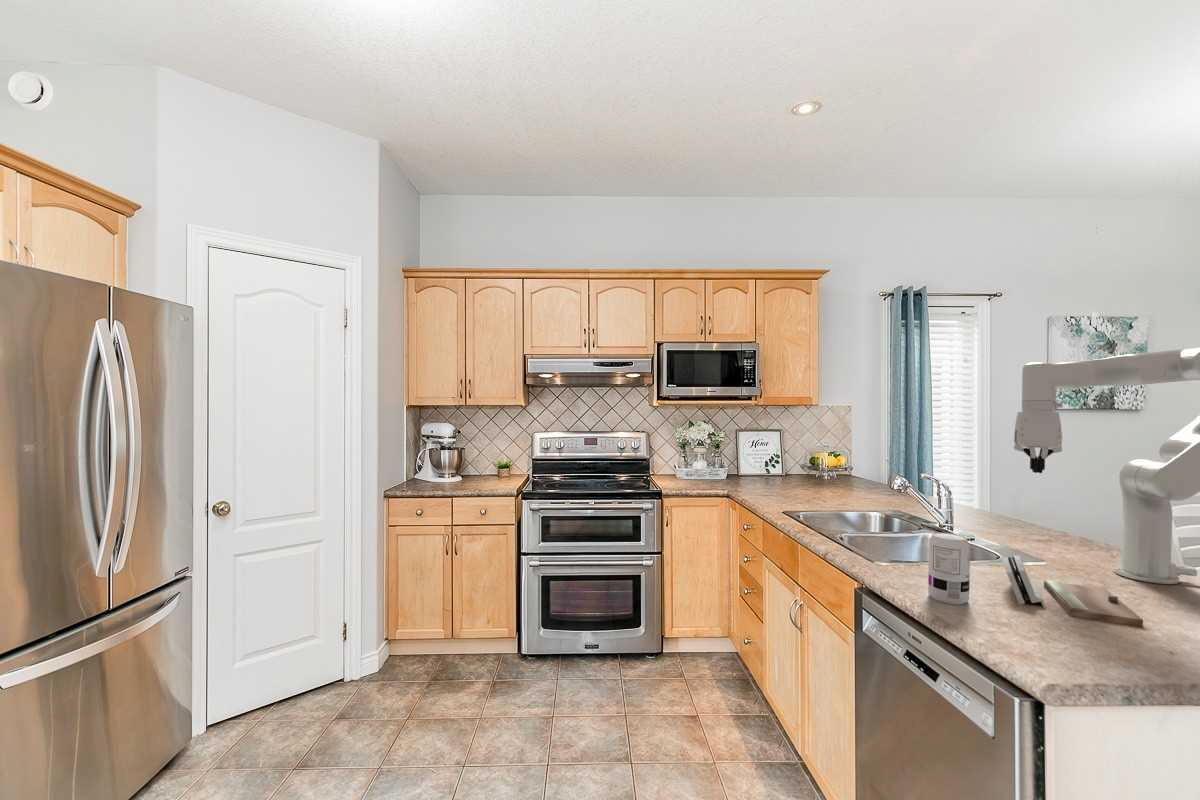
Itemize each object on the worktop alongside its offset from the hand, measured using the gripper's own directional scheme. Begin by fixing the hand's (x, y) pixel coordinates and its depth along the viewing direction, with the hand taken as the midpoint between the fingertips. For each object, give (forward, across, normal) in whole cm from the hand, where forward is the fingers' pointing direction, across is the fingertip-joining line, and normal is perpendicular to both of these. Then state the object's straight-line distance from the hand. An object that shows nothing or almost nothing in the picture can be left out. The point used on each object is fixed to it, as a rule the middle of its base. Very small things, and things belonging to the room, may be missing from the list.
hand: (1037, 472), depth 155 cm
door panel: (+27, -4, +28) cm, 39 cm away
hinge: (+28, +8, +26) cm, 39 cm away
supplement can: (+27, +25, +39) cm, 54 cm away
